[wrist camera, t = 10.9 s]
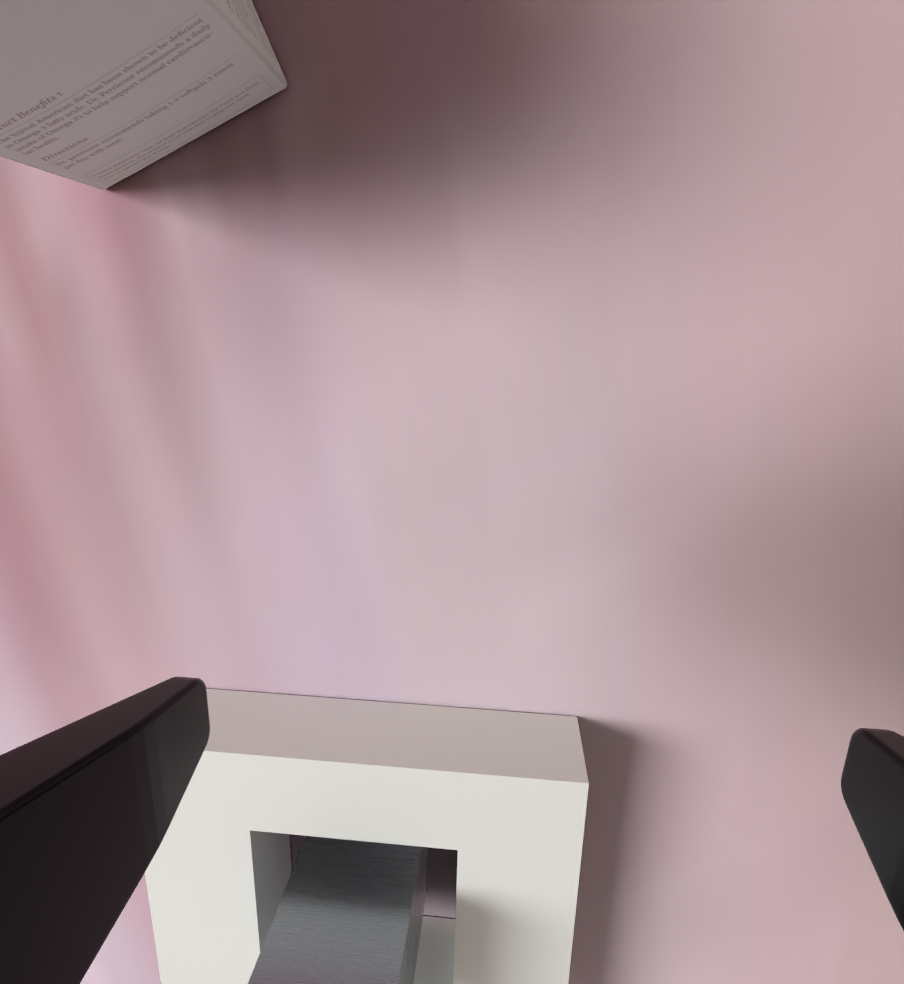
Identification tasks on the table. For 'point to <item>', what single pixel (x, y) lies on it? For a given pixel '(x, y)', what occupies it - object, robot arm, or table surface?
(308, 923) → the dark grey square post
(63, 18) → the white rectangular block
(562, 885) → the square frame
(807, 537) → the table surface
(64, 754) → the robot arm
